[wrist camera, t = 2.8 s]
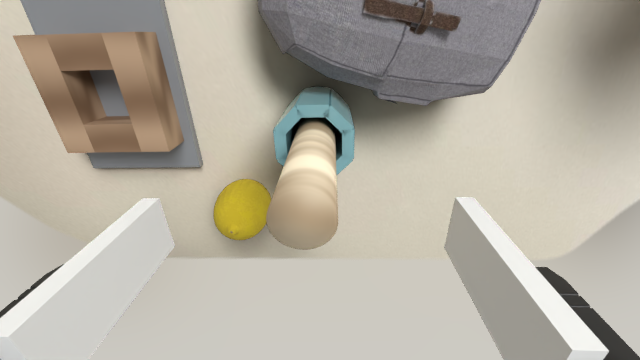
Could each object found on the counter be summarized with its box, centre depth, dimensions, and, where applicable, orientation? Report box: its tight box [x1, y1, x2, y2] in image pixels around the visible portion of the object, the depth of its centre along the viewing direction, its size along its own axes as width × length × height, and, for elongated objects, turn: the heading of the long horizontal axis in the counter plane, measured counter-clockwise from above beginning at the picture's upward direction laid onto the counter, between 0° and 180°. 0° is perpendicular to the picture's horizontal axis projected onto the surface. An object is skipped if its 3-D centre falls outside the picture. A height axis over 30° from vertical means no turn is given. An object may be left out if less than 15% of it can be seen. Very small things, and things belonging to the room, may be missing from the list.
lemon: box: [214, 179, 271, 240], centre depth 29 cm, size 6×6×8 cm
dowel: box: [266, 117, 338, 250], centre depth 20 cm, size 3×3×17 cm
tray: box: [21, 0, 203, 168], centre depth 27 cm, size 16×12×1 cm
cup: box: [273, 86, 355, 175], centre depth 25 cm, size 6×6×8 cm
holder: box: [13, 32, 184, 153], centre depth 26 cm, size 10×10×3 cm
